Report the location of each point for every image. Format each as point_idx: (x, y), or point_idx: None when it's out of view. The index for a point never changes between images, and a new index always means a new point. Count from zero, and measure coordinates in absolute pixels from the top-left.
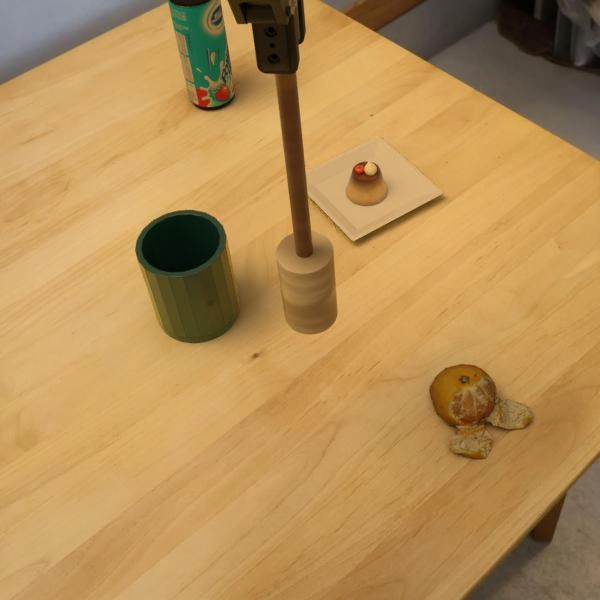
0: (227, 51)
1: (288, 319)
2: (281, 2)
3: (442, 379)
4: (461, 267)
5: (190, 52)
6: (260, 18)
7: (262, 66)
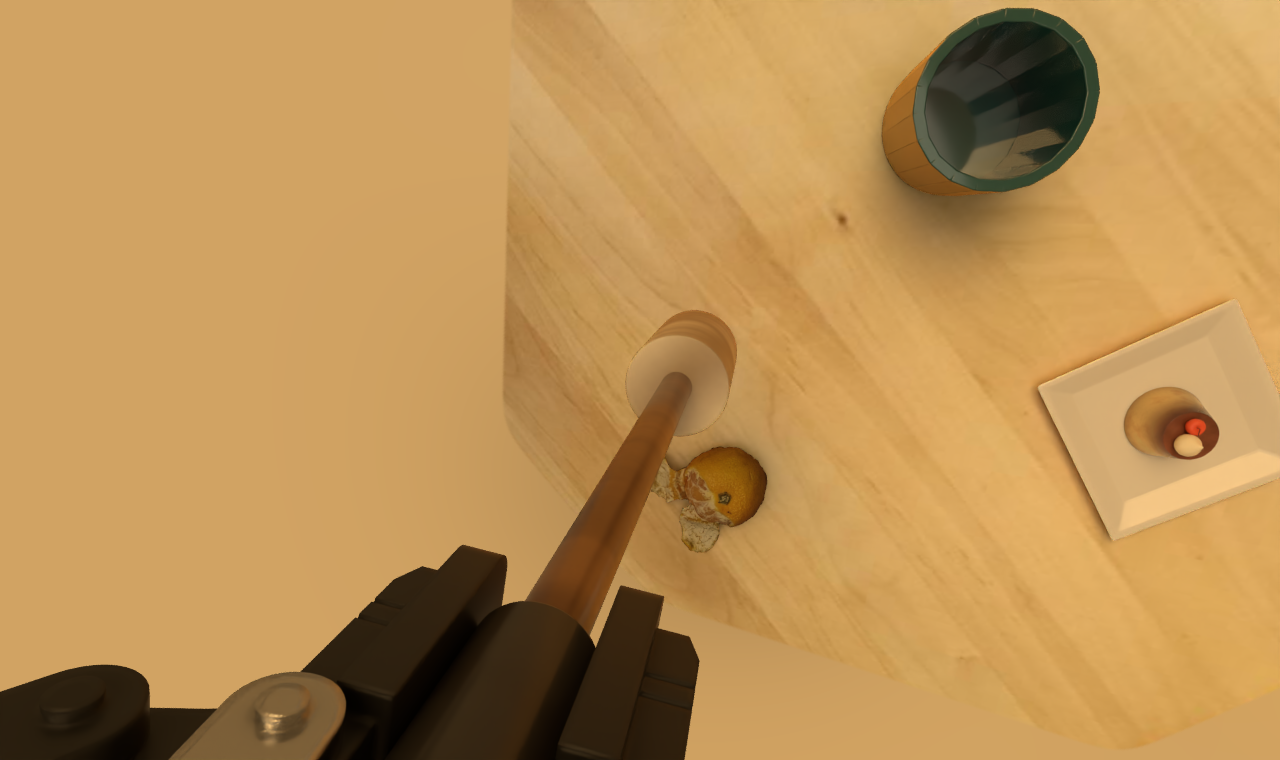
0: None
1: (669, 319)
2: None
3: (732, 471)
4: (952, 528)
5: None
6: None
7: (403, 576)
